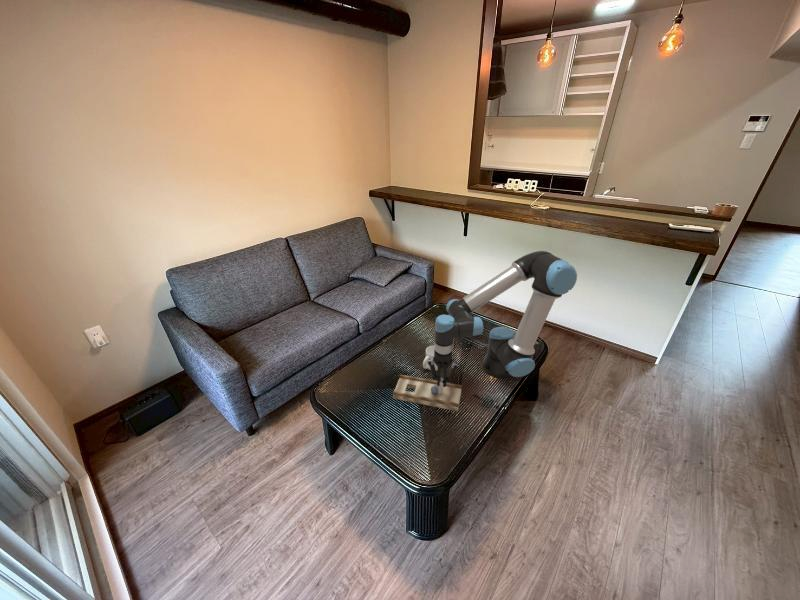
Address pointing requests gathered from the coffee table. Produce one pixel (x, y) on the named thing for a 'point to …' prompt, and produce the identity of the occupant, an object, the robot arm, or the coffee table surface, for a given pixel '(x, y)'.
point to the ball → (434, 389)
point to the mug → (429, 357)
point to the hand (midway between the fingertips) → (441, 390)
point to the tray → (427, 393)
